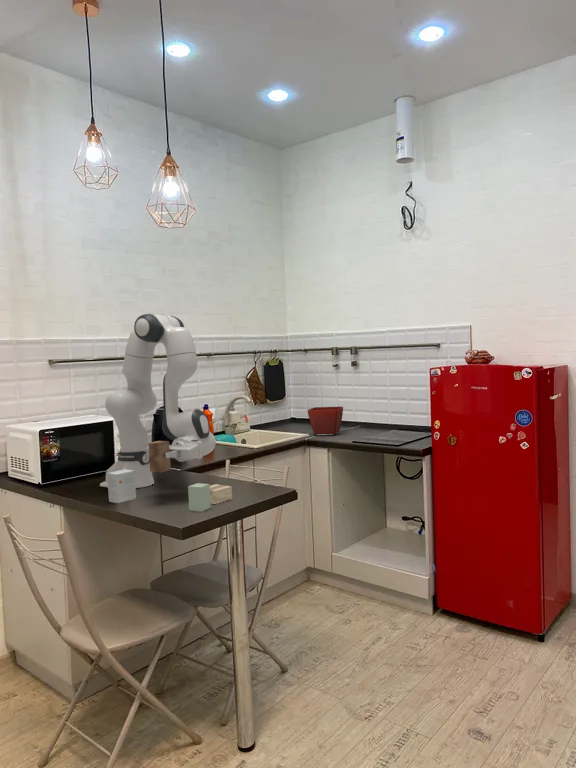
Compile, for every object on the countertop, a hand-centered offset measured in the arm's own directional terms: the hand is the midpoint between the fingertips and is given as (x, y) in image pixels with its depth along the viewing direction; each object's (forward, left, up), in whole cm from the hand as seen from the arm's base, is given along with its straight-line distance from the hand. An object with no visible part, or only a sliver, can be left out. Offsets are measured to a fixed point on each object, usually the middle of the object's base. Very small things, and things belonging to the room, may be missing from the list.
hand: (157, 455), depth 201 cm
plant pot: (-19, +179, -17) cm, 181 cm away
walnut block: (0, +1, -5) cm, 6 cm away
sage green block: (+18, -1, -17) cm, 25 cm away
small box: (-17, 0, -17) cm, 24 cm away
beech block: (+17, +10, -17) cm, 26 cm away
